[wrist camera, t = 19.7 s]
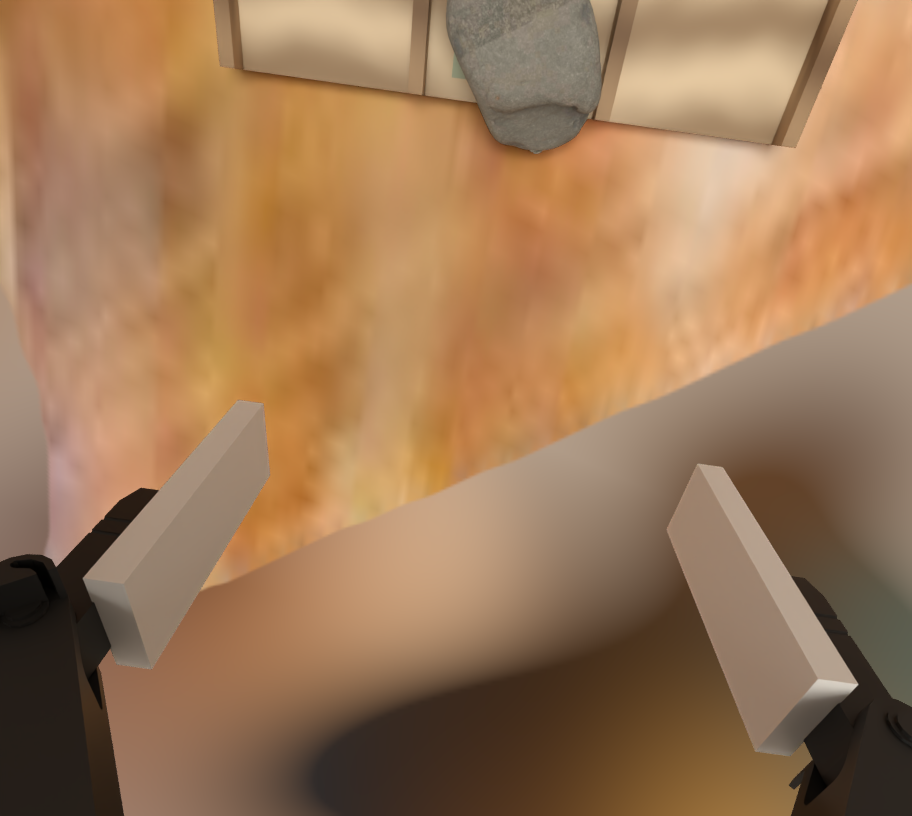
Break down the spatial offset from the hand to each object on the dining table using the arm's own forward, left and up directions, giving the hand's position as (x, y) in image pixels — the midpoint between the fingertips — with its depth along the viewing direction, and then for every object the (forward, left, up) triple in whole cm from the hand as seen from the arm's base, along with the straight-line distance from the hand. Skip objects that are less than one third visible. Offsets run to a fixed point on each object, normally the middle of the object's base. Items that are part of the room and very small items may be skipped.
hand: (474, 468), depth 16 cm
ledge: (-15, 0, -32) cm, 35 cm away
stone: (-12, 0, -30) cm, 32 cm away
